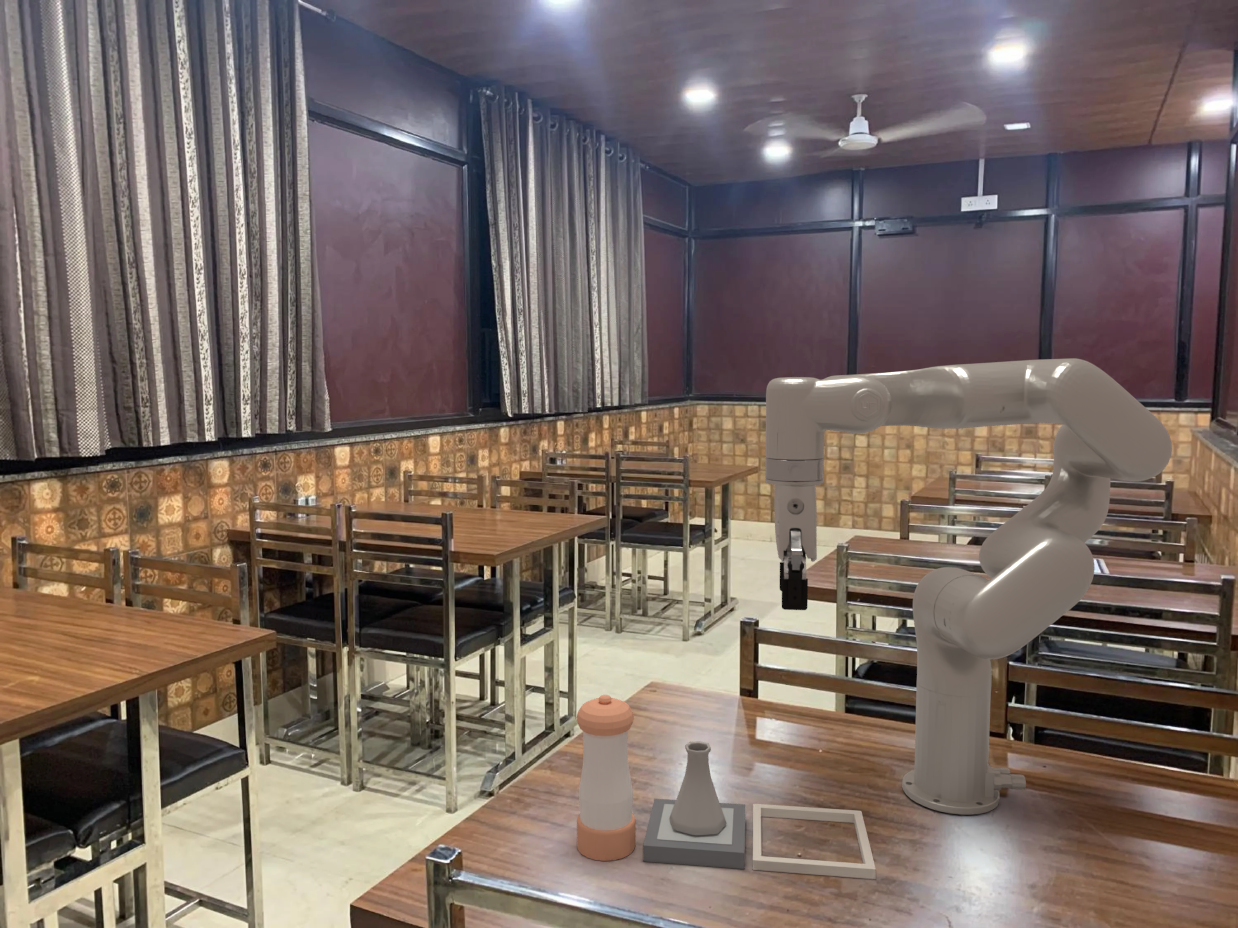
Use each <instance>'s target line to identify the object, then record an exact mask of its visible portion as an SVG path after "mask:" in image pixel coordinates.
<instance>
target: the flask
mask: <svg viewBox="0 0 1238 928" xmlns="http://www.w3.org/2000/svg"><path fill="white" fill-rule="evenodd" d="M684 747H685V751H686V754H687V755H686V756H687V758H686V759H687V761H686V766H685V772H684V777H683V779H682V782H681V785H680V789H679V791H678V794H677V796H676V799H675V800H676V801H675V804H674V807H673V809H672V812H671V815H670V818H669V819H670V822H671V824H672V827H673V830H677V831H680V832H684V833H687V834H691V835H709V834H718V833H719V832H720V831H721V829H722V828H723V827H724V826H725V825H726V824H727V823H726V820H725V817H724V814H723V811H722V808H721V806H720V803H721V802H720V801H719V798H718V794H717V792H716V787H715V786H714V782H713V779H712V775H711V768H710V764H709V763H710V762H709V755H710V754H709V753H710V752H711V751H712V747H711V745H710V744H709V742H705V741H701V740H700V741H689V742H687V743H686V744H685V746H684Z"/></svg>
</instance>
